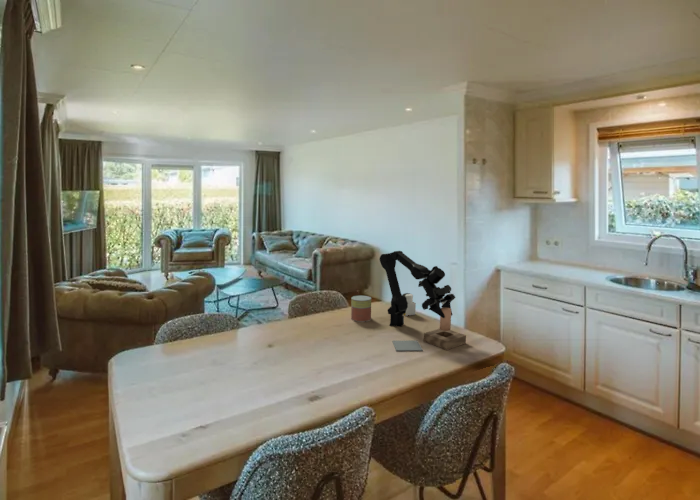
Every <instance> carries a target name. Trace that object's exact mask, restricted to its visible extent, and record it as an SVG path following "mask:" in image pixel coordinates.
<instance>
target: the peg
mask: <svg viewBox="0 0 700 500" xmlns="http://www.w3.org/2000/svg"><path fill="white" fill-rule="evenodd" d="M440 308H441V310H442V312H443V313H444V315H445V317H444V318H442V317H441V316H439V318H440V319H439V329H440V330H442V331H450V330H452V329H451V326H452V319H451V318H452V316H451V311H452V308H446V307H443V308H442V307H440Z"/></svg>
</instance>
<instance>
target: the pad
mask: <svg viewBox="0 0 700 500" xmlns="http://www.w3.org/2000/svg"><path fill="white" fill-rule="evenodd" d="M391 342H392V344H393V346H394V348H395V351H396V352H423V351H424V349H423V348H422V346H421V344H420V342H419V341H418V340H415V339H414V340H392V341H391Z"/></svg>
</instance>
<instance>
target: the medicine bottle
mask: <svg viewBox="0 0 700 500" xmlns="http://www.w3.org/2000/svg"><path fill="white" fill-rule="evenodd" d="M402 296H403V297H406V298H407V302H408V308H407V310H406V312H405V313H403V316H404V317H407V316H408V315H409V316H415V315H416V307H417V305H416V302H415V301H414V299H413V297H414V294H412V293H408V292H405V293H403V294H402Z"/></svg>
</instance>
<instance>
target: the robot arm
mask: <svg viewBox="0 0 700 500" xmlns="http://www.w3.org/2000/svg"><path fill="white" fill-rule="evenodd" d="M397 261H398V262H399V264H401V265H402V266H404V267H405V268H406V269H408V270H409V271H410V274H411V276H412V277H413V278H414V279H415V280H419V281H418V288H419V287H421V288H423V290H424V291H425V293H426V294H425V296H426V297H428V298H426V299H425V300H424V302H422V303H421V307H422V309H423V310H424V311H425V310H428V311H431V312H432V313H435V314H437V315H438V316H439V317H440V316H441V317H442V318H444V317H445V315H444V313H443V312H442V310H441V308H443V307H446V308H451V307H452V306H451V303H452V301H453V300H455V299H456V296H455V295H454V294H455V293H451V291H452V287H451V286H450V285H449V284H446V285H444V286H443V287H441V288H440V286H437V284H438V283H440V282H441V280H443V279H444V278H445V276H446V273H445V271H444V270H443V269H441V268H440V267H438V265H435V266H433V267H432V269H431V270H430V269H429V268H428V267H426V266H424V265H422V264H419V263H416V262H415V261H414V260H413V259H411V258H410V257H409V256H407V255H406V254H405V253H404V252H403V251H401V250H395V251H392V252H390V253H389V252H388V253H382V254H380V256H379V262H380V266H381V267H382V268H383V269H384V270H385V273H386V277H387V281H388V285H389V289H390V293H391V301H390V306H389V308H388V309H387V314H388V315H390V319H389V321H390V322H389V326H392V327H402V326H403V325H404V323H405V316H404V315H403V313H405V312H406V310H407V308H408V302H407V298H406V297H403V296H402V295H403V294H402V292H401V289H400V288H401V287H400V284H399V280H398V277H397V276H398V275H397V272H396V265H397ZM440 305H441V306H440ZM451 309H452V308H451ZM452 316H453V313H452V310H451V317H452Z"/></svg>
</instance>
